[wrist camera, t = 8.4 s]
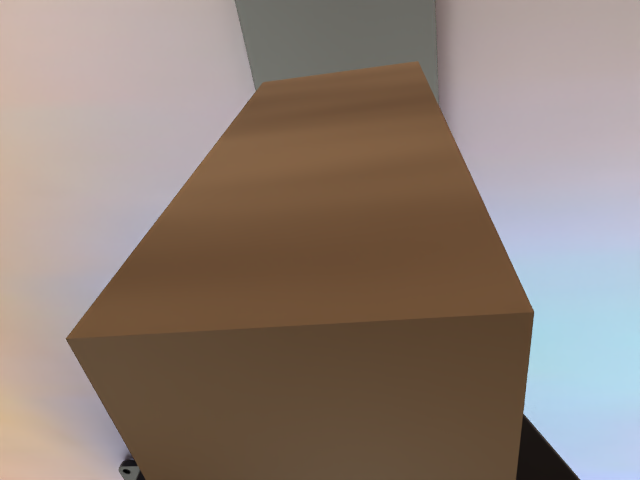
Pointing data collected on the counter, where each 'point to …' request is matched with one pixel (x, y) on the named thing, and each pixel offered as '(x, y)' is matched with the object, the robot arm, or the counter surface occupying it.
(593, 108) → the counter surface
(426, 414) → the tan long block
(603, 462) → the counter surface
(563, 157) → the counter surface
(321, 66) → the mat
